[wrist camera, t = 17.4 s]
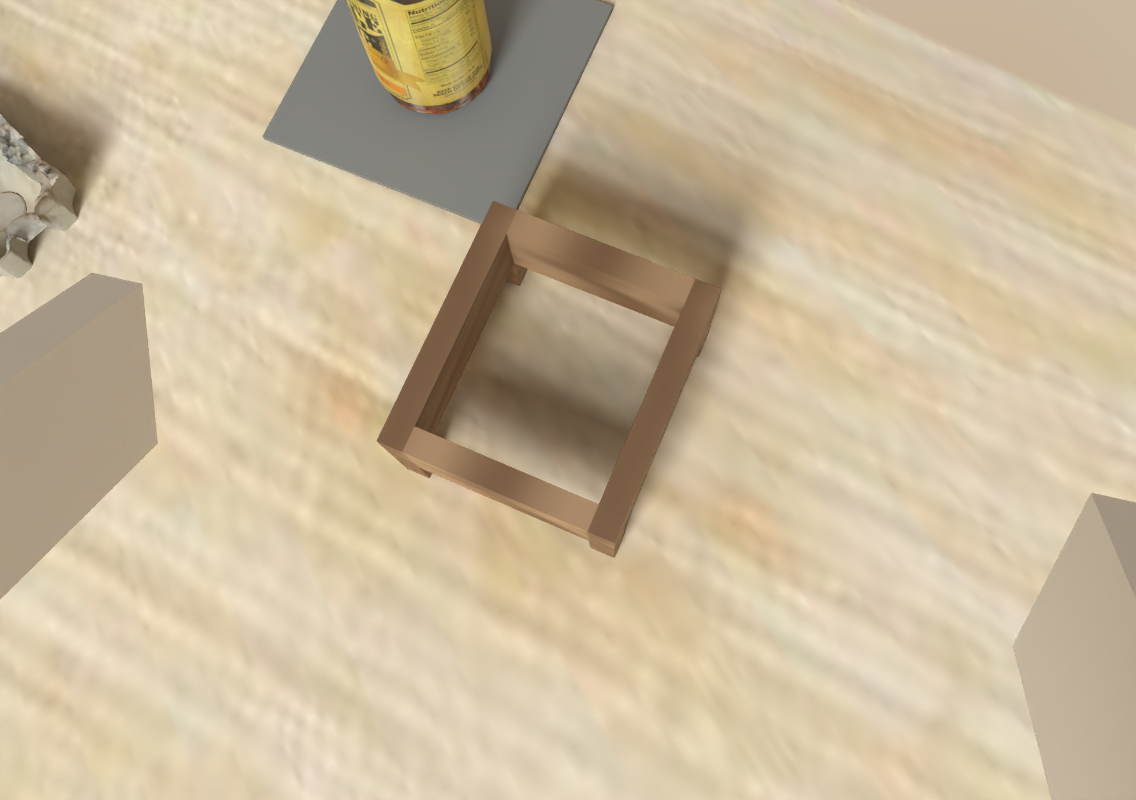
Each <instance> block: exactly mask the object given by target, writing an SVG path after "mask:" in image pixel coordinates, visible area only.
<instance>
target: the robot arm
mask: <svg viewBox="0 0 1136 800" xmlns="http://www.w3.org/2000/svg"><path fill="white" fill-rule="evenodd" d="M157 444H158V442H157V432H156V422H155V411H154V401H153V391H152V380H151V370H150V360H149V349H148V339H147V329H146V318H145V308H144V298H143V287H142V284H140V283H136V282H131V281H127V280H122V279H118V278H113V277H108V276H104V275H99V274H95V273H91V274H90V275H88V276H87V277H85V278H83V279H82V280H80V281H79V282H77V283H76V284H74V285H73V286H71V287H70V288H68V289H67V290H65V291H64V292H62V293H61V294H59V295H58V296H56V297H55V298H53V299H52V300H50V301H49V302H47V303H46V304H44V305H43V306H41V307H39V308H38V309H36V310H35V311H33V312H32V313H30V314H29V315H27V316H26V317H24V318H23V319H21V320H20V321H18V322H17V323H15V324H14V325H12V326H11V327H9V328H8V329H6V330H5V331H3V332H2V333H0V599H1V598H2V597H3V596H4V595H5V594H6V593H7V592H8V591H9V590H10V589H11V588H12V587H13V586H14V585H15V584H16V583H17V582H18V581H19V580H20V579H21V578H22V577H23V576H24V575H25V574H26V573H27V572H28V571H29V570H30V569H31V568H33V567H34V566H35V565H36V564H37V563H38V562H39V561H40V560H41V559H42V558H43V557H44V556H45V555H46V554H47V553H48V552H49V551H50V550H51V549H52V548H53V547H54V546H55V545H56V544H57V543H58V542H59V541H60V540H61V539H62V538H63V537H64V536H65V535H66V534H67V533H68V532H69V531H70V530H71V529H72V528H73V527H74V526H75V525H76V524H77V523H78V522H79V521H80V520H81V519H82V518H83V517H84V516H85V515H86V514H87V513H88V512H89V511H90V510H91V509H92V508H93V507H94V506H95V505H96V504H97V503H98V502H99V501H100V500H101V499H102V498H103V497H104V496H105V495H106V494H107V493H108V492H109V491H110V490H111V489H112V488H113V487H114V486H115V485H116V484H117V483H118V482H119V481H120V480H121V479H122V478H123V477H124V476H125V475H126V474H127V473H128V472H129V471H130V470H131V469H132V468H133V467H134V466H135V465H136V464H137V463H138V462H139V461H140V460H141V459H142V458H143V457H144V456H145V455H146V454H147V453H148V452H149V451H150V450H151V449H152V448H153V447H154V446H156V445H157ZM1013 648H1014V652H1015V656H1016V660H1017V664H1018V668H1019V672H1020V676H1021V680H1022V684H1023V688H1024V692H1025V696H1026V700H1027V704H1028V708H1029V712H1030V716H1031V720H1032V724H1033V728H1034V732H1035V736H1036V740H1037V744H1038V748H1039V752H1040V755H1041V759H1042V763H1043V767H1044V771H1045V775H1046V779H1047V783H1048V787H1049V791H1050V795H1051V799H1052V800H1136V503H1135V502H1130V501H1126V500H1121V499H1117V498H1112V497H1108V496H1103V495H1099V494H1094V493H1091V494H1090V496H1089V498H1088V500H1087V502H1086V504H1085V506H1084V508H1083V510H1082V512H1081V513H1080V515H1079V517H1078V519H1077V521H1076V523H1075V525H1074V527H1073V529H1072V531H1071V533H1070V535H1069V537H1068V539H1067V541H1066V543H1065V545H1064V547H1063V549H1062V550H1061V552H1060V554H1059V556H1058V558H1057V560H1056V562H1055V564H1054V566H1053V568H1052V570H1051V572H1050V574H1049V576H1048V578H1047V580H1046V582H1045V584H1044V586H1043V587H1042V589H1041V591H1040V593H1039V595H1038V597H1037V599H1036V601H1035V603H1034V605H1033V607H1032V609H1031V611H1030V613H1029V615H1028V617H1027V619H1026V621H1025V623H1024V624H1023V626H1022V628H1021V630H1020V632H1019V634H1018V636H1017V638H1016V640H1015V642H1014V644H1013Z"/></svg>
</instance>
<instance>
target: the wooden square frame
mask: <svg viewBox="0 0 1136 800" xmlns="http://www.w3.org/2000/svg"><path fill="white" fill-rule="evenodd" d="M527 269H530V270H532V271H535V272H537V273H540V274H542V275H545V276H548V277H550V278H553V279H555V280H558V281H560V282H563V283H565V284H568V285H570V286H573V287H575V288H578V289H580V290H583V291H586V292H588V293H591V294H593V295H596V296H598V297H601V298H603V299H606V300H608V301H611V302H613V303H616V304H619V305H621V306H624V307H626V308H629V309H631V310H634V311H636V312H639V313H641V314H644V315H646V316H649V317H651V318H654V319H657V320H659V321H662V322H664V323H667V324H669V325H672V326H674V327H675V328H674V330H673V332H672V335H671V337H670V339H669V342H668V344H667V346H666V349H665V351H664V353H663V356H662V358H661V360H660V363H659V365H658V367H657V370H656V372H655V374H654V377H653V379H652V381H651V384H650V386H649V388H648V391H647V393H646V395H645V398H644V400H643V402H642V405H641V407H640V409H639V412H638V414H637V416H636V419H635V421H634V423H633V426H632V428H631V430H630V433H629V435H628V437H627V440H626V442H625V444H624V447H623V449H622V451H621V454H620V456H619V458H618V461H617V463H616V466H615V468H614V470H613V473H612V475H611V477H610V480H609V482H608V484H607V487H606V489H605V491H604V494H603V496H602V498H601V501H600V503H599V504H597V503H594V502H592V501H589V500H587V499H585V498H582V497H580V496H578V495H575V494H573V493H571V492H568V491H566V490H564V489H561V488H559V487H557V486H554V485H552V484H549V483H547V482H545V481H542V480H540V479H538V478H535V477H533V476H531V475H528V474H526V473H524V472H521V471H519V470H516V469H514V468H512V467H509V466H507V465H505V464H502V463H500V462H498V461H495V460H493V459H491V458H488V457H486V456H483V455H481V454H479V453H476V452H474V451H472V450H469V449H467V448H465V447H462V446H460V445H458V444H455V443H453V442H451V441H448V440H446V439H443V438H441V437H439V436H436V435H434V432H435V430H436V428H437V425H438V423H439V421H440V419H441V417H442V415H443V413H444V411H445V408H446V406H447V404H448V402H449V400H450V398H451V396H452V394H453V391H454V389H455V387H456V385H457V383H458V381H459V379H460V377H461V375H462V372H463V370H464V368H465V366H466V364H467V362H468V360H469V358H470V355H471V353H472V351H473V349H474V347H475V345H476V343H477V341H478V339H479V336H480V334H481V332H482V330H483V328H484V326H485V324H486V322H487V319H488V317H489V315H490V313H491V311H492V309H493V307H494V305H495V303H496V300H497V298H498V296H499V294H500V292H501V290H502V288H503V286H504V283H505V281H506V280H507V281H509V282H512V283H514V284H517V285H519V286H520V284H521V282H522V280H523V277H524V275H525V273H526V271H527ZM720 292H721V288H718V287H715V286H713V285H710V284H708V283H705V282H702V281H700V280H697V279H695V278H692V277H689V276H687V275H684V274H682V273H679V272H677V271H674V270H671V269H669V268H666V267H664V266H661V265H658V264H656V263H653V262H651V261H648V260H645V259H643V258H640V257H638V256H635V255H633V254H630V253H627V252H625V251H622V250H620V249H617V248H614V247H612V246H609V245H607V244H604V243H601V242H599V241H596V240H594V239H591V238H589V237H586V236H583V235H581V234H578V233H576V232H573V231H570V230H568V229H565V228H563V227H560V226H558V225H555V224H552V223H550V222H547V221H545V220H542V219H539V218H537V217H534V216H532V215H529V214H526V213H524V212H521V211H519V210H516V209H514V208H511V207H508V206H506V205H503V204H501V203H498V202H495V201H493V202H492V204H491V206H490V208H489V210H488V212H487V214H486V216H485V218H484V220H483V222H482V224H481V226H480V228H479V230H478V233H477V235H476V237H475V239H474V241H473V243H472V245H471V247H470V249H469V251H468V253H467V255H466V257H465V259H464V261H463V264H462V266H461V268H460V270H459V272H458V274H457V276H456V278H455V280H454V282H453V284H452V286H451V288H450V290H449V292H448V295H447V297H446V299H445V301H444V303H443V305H442V307H441V309H440V311H439V313H438V315H437V317H436V319H435V321H434V323H433V325H432V328H431V330H430V332H429V334H428V336H427V338H426V340H425V342H424V344H423V346H422V348H421V350H420V352H419V354H418V356H417V359H416V361H415V363H414V365H413V367H412V369H411V371H410V373H409V375H408V377H407V379H406V381H405V383H404V385H403V387H402V390H401V392H400V394H399V396H398V398H397V400H396V402H395V404H394V406H393V408H392V410H391V412H390V414H389V416H388V418H387V421H386V423H385V425H384V427H383V429H382V431H381V433H380V435H379V437H378V439H377V442H378V443H379V444H380V445H381V446H383V447H384V448H385V449H386V450H387V451H388V452H389V453H390V454H392V455H393V456H394V457H395V458H396V459H397V460H398V461H399V462H400V463H402V464H403V465H404V466H405V467H406V468H407V469H409V470H412V471H414V472H416V473H419V474H421V475H423V476H426V477H428V478H430V476H431V474H432V473H433V474H435V475H438V476H440V477H442V478H445V479H447V480H449V481H451V482H454V483H456V484H458V485H461V486H463V487H465V488H468V489H470V490H472V491H475V492H477V493H479V494H482V495H484V496H486V497H489V498H491V499H493V500H496V501H498V502H500V503H503V504H505V505H507V506H510V507H512V508H514V509H517V510H519V511H521V512H524V513H526V514H528V515H530V516H533V517H535V518H537V519H540V520H542V521H544V522H547V523H549V524H551V525H554V526H556V527H558V528H561V529H563V530H565V531H568V532H570V533H572V534H575V535H577V536H579V537H582V538H584V539H586V540H589V542H590V547H591V548H593V549H595V550H597V551H600V552H602V553H604V554H607V555H609V556H611V557H615V555H616V553H617V550H618V548H619V545H620V543H621V541H622V538H623V536H624V531H625V525H626V523H627V520H628V518H629V516H630V513H631V511H632V508H633V506H634V504H635V501H636V499H637V497H638V494H639V492H640V489H641V487H642V485H643V482H644V480H645V478H646V475H647V473H648V470H649V468H650V466H651V463H652V461H653V458H654V456H655V454H656V451H657V449H658V447H659V444H660V442H661V439H662V437H663V435H664V432H665V430H666V428H667V425H668V423H669V420H670V418H671V416H672V413H673V411H674V408H675V406H676V404H677V401H678V399H679V397H680V394H681V392H682V389H683V387H684V385H685V382H686V380H687V377H688V375H689V373H690V370H691V368H692V366H693V363H694V361H695V358H696V356H698V357H699V355H700V352H701V350H702V347H703V345H704V343H705V340H706V338H707V336H708V332H709V329H710V326H711V322H712V319H713V316H714V312H715V309H716V306H717V302H718V299H719V296H720Z"/></svg>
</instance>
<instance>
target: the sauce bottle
mask: <svg viewBox="0 0 1136 800" xmlns="http://www.w3.org/2000/svg"><path fill="white" fill-rule="evenodd" d="M345 3H346V5H347V7H348V9H349V12H350V14H351V16H352V19H353V22H354V24H355V26H356V28H357V31H358V33H359V36H360V38H361V40H362V43H363V45H364V48H365V50H366V52H367V55H368V57H369V60H370V62H371V64H372V67H373V69H374V72H375V74H376V76H377V78H378V79H379V81H380V82H381V84H382V85H383V86H384V87H385V89H386V90H387V91H388V92H389V93H390V94H391V96H392V97H393V98H394V99H395V100H396V101H397V102H398V103H399V104H400V105H401V106H402V107H404V108H407V109H410V110H412V111H415V112H419V113H428V114H438V115H439V114H446V113H450V112H452V111H455V110H457V109H459V108H461V107H463V106H465V105H466V104H468V103H469V102H470V101H472V100H474V98H475V97H476V96H477V95H478V94H480V93H481V92H482V90H483V89H484V88H485V85H486V83H487V79H488V76H489V74H490V66H491V51H492V46H491V37H490V32H489V27H488V21H487V15H486V10H485V5H484V0H345Z"/></svg>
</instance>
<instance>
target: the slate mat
mask: <svg viewBox="0 0 1136 800" xmlns="http://www.w3.org/2000/svg"><path fill="white" fill-rule="evenodd" d="M484 5H485V10H486V15H487V21H488V27H489V32H490V37H491V46H492V51H491V66H490V74H489V76H488V79H487V83H486V85H485V88H484V89H483V90H482V92H481V93H480V94H478V95H477V96H476V97H475V98H474V100H472V101H470V102H469V103H468V104H466V105H465V106H463V107H461V108H459V109H457V110H455V111H452V112H450V113H446V114H439V115H438V114H428V113H419V112H415V111H412V110H410V109H407V108H404V107H402V106H401V105H400V104H399V103H398V102H397V101H396V100H395V99H394V98H393V97H392V96H391V94H390V93H389V92H388V91H387V90H386V89H385V87H384V86H383V85H382V84H381V82H380V81H379V79H378V78H377V76H376V74H375V72H374V69H373V67H372V64H371V62H370V60H369V57H368V55H367V52H366V50H365V48H364V45H363V43H362V40H361V38H360V36H359V33H358V31H357V28H356V26H355V24H354V22H353V19H352V16H351V14H350V12H349V9H348V7H347V5H346V3H345V0H337V1H336V3H335V5H334V7H333V9H332V11H331V12H330V14H329V16H328V18H327V20H326V22H325V23H324V25H323V27H322V29H321V31H320V32H319V34H318V36H317V38H316V40H315V42H314V43H313V45H312V47H311V49H310V51H309V53H308V54H307V56H306V58H305V60H304V62H303V64H302V65H301V67H300V69H299V71H298V73H297V74H296V76H295V78H294V80H293V82H292V84H291V85H290V87H289V89H288V91H287V93H286V95H285V96H284V98H283V100H282V102H281V104H280V106H279V107H278V109H277V111H276V113H275V115H274V116H273V118H272V120H271V122H270V124H269V126H268V127H267V129H266V131H265V133H264V135H263V138H264V139H265V140H268V141H271V142H273V143H276V144H278V145H281V146H283V147H286V148H288V149H291V150H294V151H296V152H299V153H301V154H304V155H306V156H309V157H312V158H314V159H317V160H319V161H322V162H324V163H327V164H329V165H332V166H335V167H337V168H340V169H342V170H345V171H347V172H350V173H353V174H355V175H358V176H360V177H363V178H365V179H368V180H370V181H373V182H376V183H378V184H381V185H383V186H386V187H388V188H391V189H393V190H396V191H399V192H401V193H404V194H406V195H409V196H411V197H414V198H417V199H419V200H422V201H424V202H427V203H429V204H432V205H434V206H437V207H440V208H442V209H445V210H447V211H450V212H452V213H455V214H457V215H460V216H463V217H465V218H468V219H470V220H473V221H475V222H478V223H481V224H482V222H483V220H484V218H485V216H486V214H487V212H488V210H489V208H490V206H491V204H492V202H493V201H495V202H498V203H501V204H503V205H506V206H508V207H511V208H514V209H516V210H517V209H518V207H519V205H520V203H521V201H522V199H523V197H524V194H525V192H526V190H527V188H528V186H529V184H530V182H531V180H532V178H533V176H534V173H535V171H536V169H537V167H538V165H539V163H540V161H541V159H542V157H543V155H544V153H545V150H546V148H547V146H548V144H549V142H550V140H551V138H552V136H553V134H554V132H555V129H556V127H557V125H558V123H559V121H560V119H561V117H562V115H563V113H564V111H565V109H566V106H567V104H568V102H569V100H570V98H571V96H572V94H573V92H574V90H575V88H576V85H577V83H578V81H579V79H580V77H581V75H582V73H583V71H584V69H585V67H586V65H587V62H588V60H589V58H590V56H591V54H592V52H593V50H594V48H595V46H596V44H597V42H598V39H599V37H600V35H601V33H602V31H603V29H604V27H605V25H606V23H607V21H608V18H609V16H610V14H611V12H612V10H613V5H610V4H607V3H604V2H601V1H599V0H484Z"/></svg>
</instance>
